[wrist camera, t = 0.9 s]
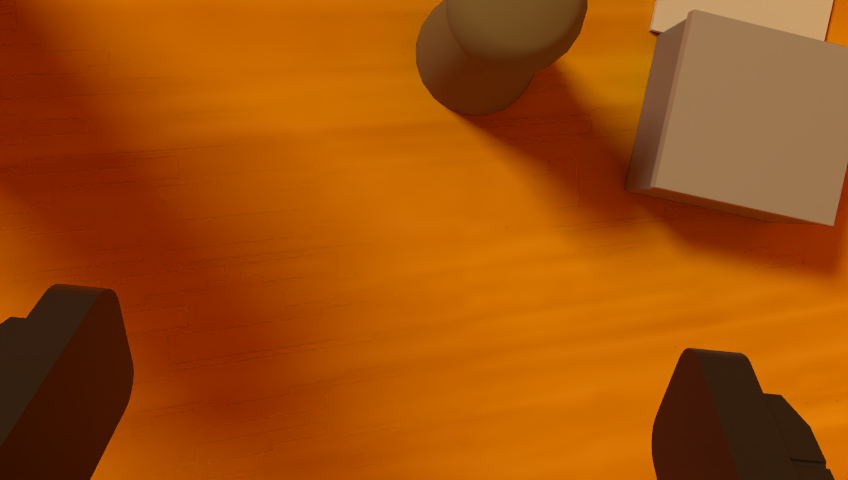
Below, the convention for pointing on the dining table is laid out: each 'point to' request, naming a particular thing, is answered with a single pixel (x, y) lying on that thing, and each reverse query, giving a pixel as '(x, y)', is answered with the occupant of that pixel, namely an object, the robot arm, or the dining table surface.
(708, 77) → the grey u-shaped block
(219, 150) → the dining table surface
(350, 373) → the dining table surface
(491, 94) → the cork
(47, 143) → the dining table surface
